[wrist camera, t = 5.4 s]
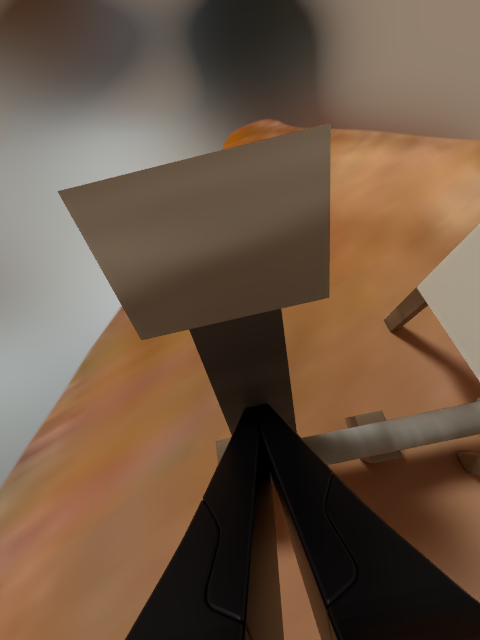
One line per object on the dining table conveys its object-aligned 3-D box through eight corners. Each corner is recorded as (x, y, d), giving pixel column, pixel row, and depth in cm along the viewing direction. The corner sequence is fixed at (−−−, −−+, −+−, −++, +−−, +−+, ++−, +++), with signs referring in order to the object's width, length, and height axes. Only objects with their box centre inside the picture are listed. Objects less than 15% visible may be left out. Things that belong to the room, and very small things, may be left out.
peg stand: (477, 470, 13) (567, 487, 9) (239, 517, 13) (225, 553, 9) (391, 318, 18) (426, 285, 14) (216, 357, 18) (200, 335, 14)
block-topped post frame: (532, 450, 11) (998, -45, 3) (236, 509, 11) (57, 191, 4) (471, 398, 13) (658, 51, 6) (232, 448, 14) (121, 186, 6)
